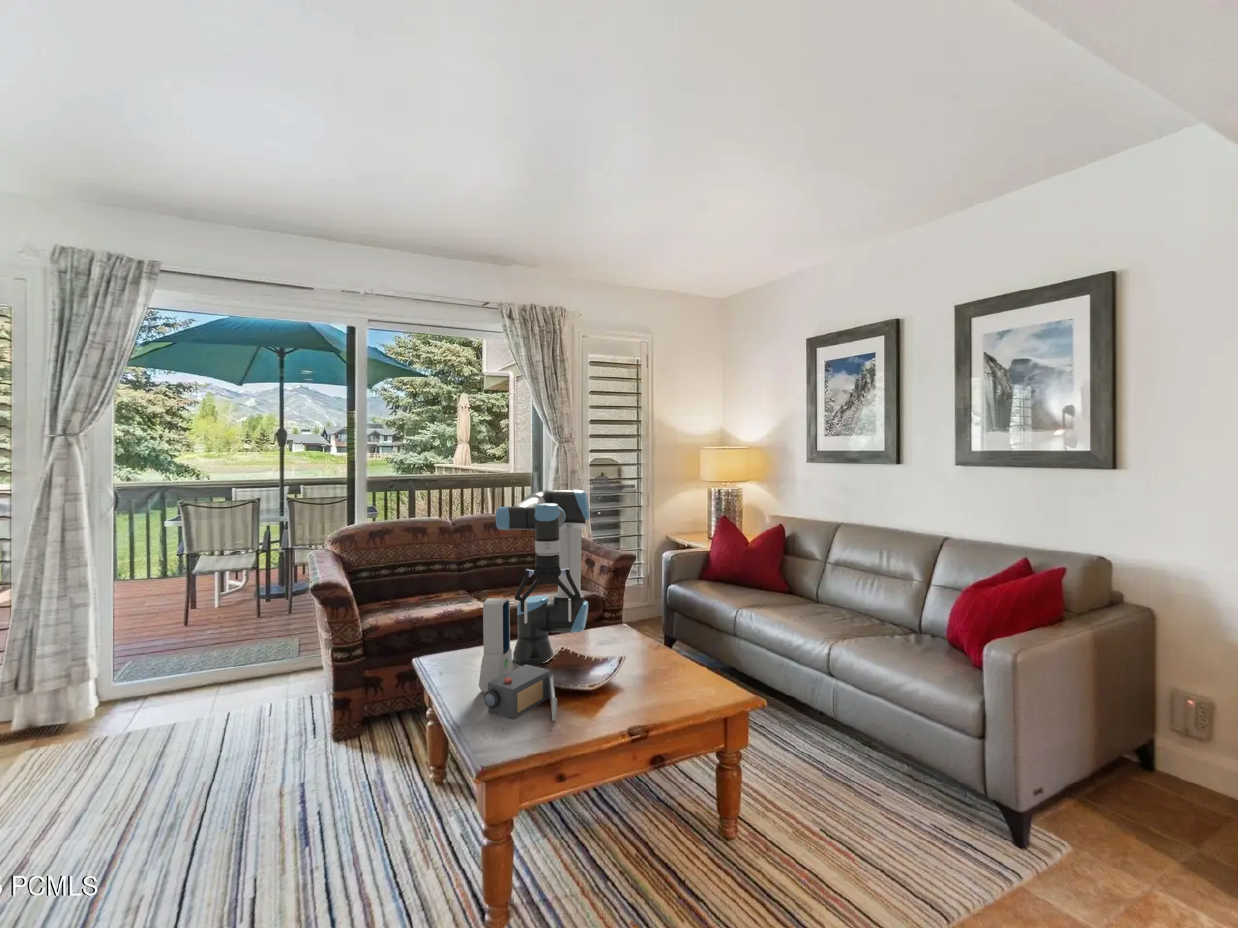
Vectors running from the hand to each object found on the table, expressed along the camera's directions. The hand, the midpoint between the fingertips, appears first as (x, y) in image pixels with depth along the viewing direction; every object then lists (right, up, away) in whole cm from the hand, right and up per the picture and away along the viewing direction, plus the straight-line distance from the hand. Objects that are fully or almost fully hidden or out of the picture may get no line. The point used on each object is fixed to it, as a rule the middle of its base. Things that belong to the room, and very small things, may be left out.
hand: (547, 621), depth 189 cm
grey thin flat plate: (+2, -27, -2) cm, 27 cm away
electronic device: (-19, -27, +15) cm, 36 cm away
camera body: (-9, -27, +2) cm, 28 cm away
